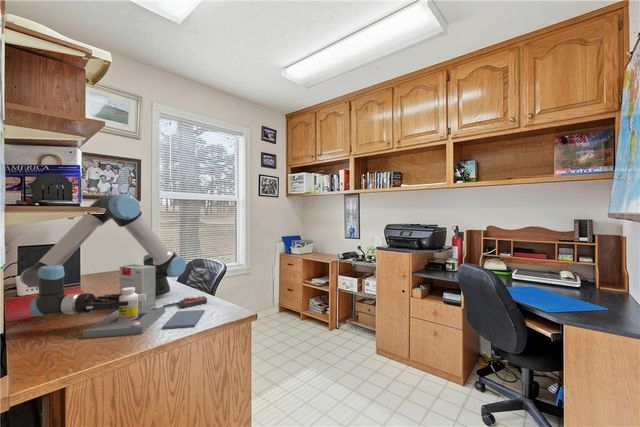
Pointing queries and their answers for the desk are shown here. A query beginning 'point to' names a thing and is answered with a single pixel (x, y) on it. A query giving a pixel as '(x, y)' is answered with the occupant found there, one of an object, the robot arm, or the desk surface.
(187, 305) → the walkie-talkie
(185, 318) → the mat
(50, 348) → the desk surface
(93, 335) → the frame
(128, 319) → the supplement bottle
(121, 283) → the hard drive box
